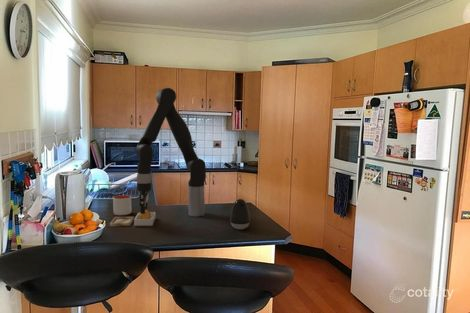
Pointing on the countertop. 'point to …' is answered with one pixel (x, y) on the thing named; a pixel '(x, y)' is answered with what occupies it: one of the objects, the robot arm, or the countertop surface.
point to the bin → (144, 220)
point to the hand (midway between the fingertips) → (144, 211)
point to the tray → (122, 221)
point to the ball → (145, 215)
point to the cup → (122, 205)
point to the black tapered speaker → (240, 215)
